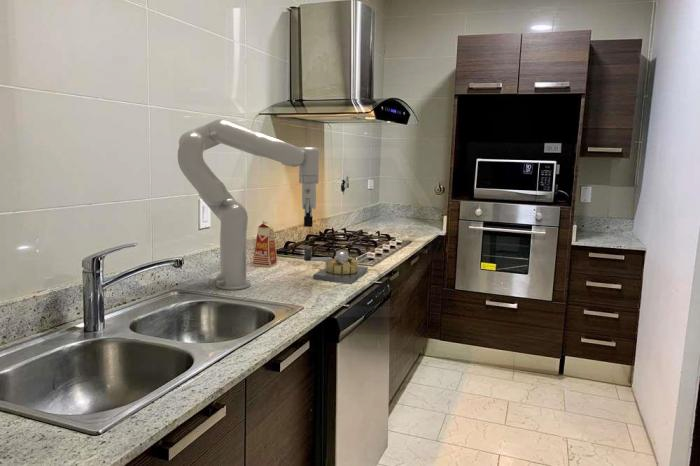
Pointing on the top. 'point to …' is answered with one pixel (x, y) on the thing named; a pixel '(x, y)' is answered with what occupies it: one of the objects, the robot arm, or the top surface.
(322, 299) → the top surface
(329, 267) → the tan ring with lever
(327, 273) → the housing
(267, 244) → the milk carton
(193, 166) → the robot arm
